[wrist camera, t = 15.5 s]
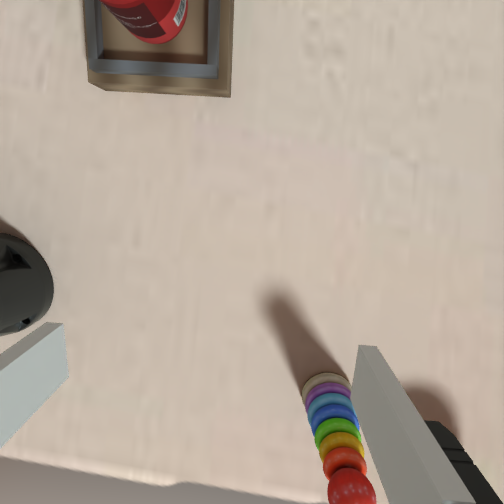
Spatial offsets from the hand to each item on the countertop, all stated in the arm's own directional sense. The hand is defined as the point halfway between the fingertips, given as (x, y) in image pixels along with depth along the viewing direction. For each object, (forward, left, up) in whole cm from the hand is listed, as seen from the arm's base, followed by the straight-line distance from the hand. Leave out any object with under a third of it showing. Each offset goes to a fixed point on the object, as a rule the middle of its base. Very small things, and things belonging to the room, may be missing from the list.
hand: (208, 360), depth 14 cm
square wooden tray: (-11, +25, -31) cm, 41 cm away
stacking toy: (+14, -25, -31) cm, 42 cm away
